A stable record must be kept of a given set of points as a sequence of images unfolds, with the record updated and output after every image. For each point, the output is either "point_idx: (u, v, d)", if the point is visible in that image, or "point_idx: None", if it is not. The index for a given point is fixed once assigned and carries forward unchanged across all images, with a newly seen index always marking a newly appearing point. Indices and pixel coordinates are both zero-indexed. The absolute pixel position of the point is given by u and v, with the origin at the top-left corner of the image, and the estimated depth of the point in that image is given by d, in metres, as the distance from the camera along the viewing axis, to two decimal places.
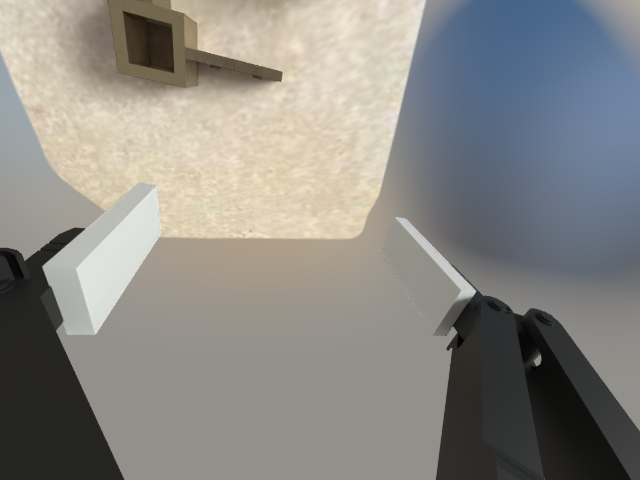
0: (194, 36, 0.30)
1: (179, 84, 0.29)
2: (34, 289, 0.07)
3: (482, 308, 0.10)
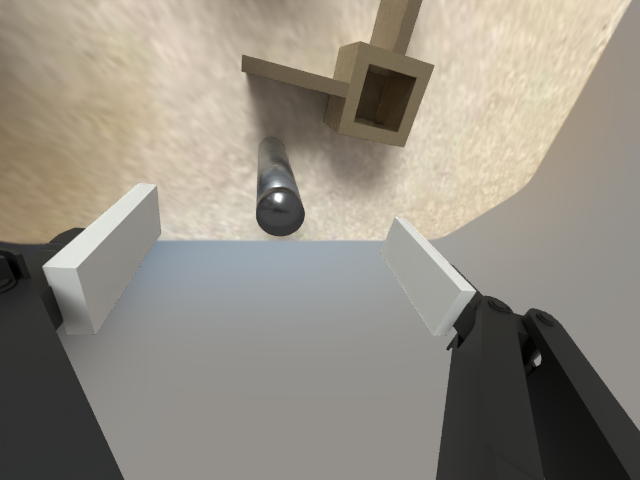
0: None
1: (428, 74, 0.21)
2: (34, 289, 0.07)
3: (482, 308, 0.10)
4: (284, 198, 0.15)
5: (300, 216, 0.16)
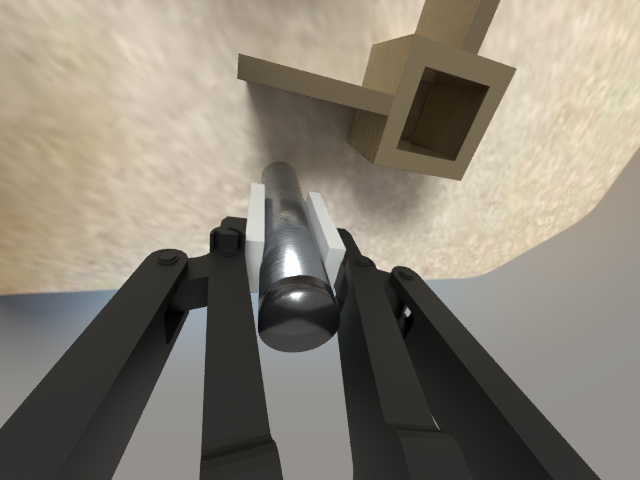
0: None
1: (507, 81, 0.15)
2: (244, 260, 0.09)
3: (351, 270, 0.10)
4: (307, 302, 0.08)
5: (332, 324, 0.09)
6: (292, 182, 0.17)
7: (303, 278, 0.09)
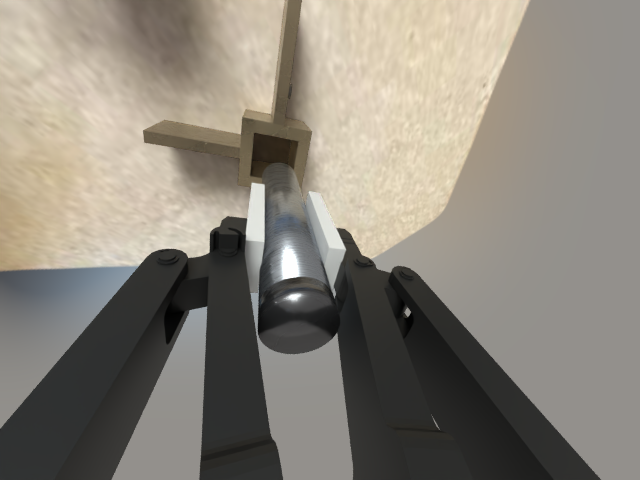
0: (258, 113, 0.28)
1: (308, 138, 0.25)
2: (244, 260, 0.09)
3: (351, 270, 0.10)
4: (307, 304, 0.08)
5: (332, 325, 0.09)
6: (292, 183, 0.17)
7: (303, 280, 0.09)
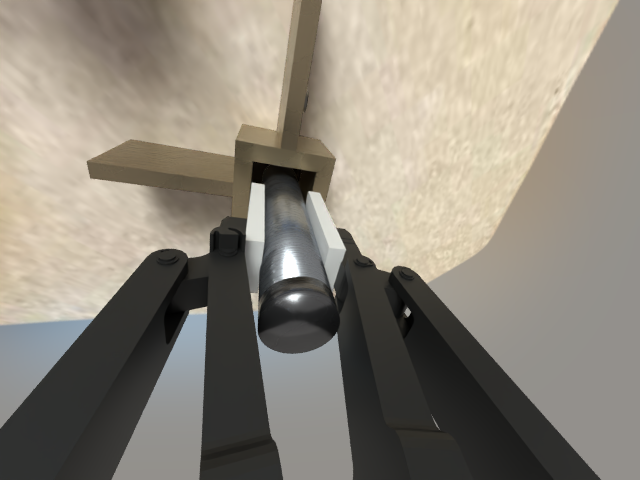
0: (260, 130, 0.20)
1: (330, 167, 0.18)
2: (244, 260, 0.09)
3: (351, 270, 0.10)
4: (307, 303, 0.08)
5: (332, 325, 0.09)
6: (292, 183, 0.17)
7: (303, 279, 0.09)
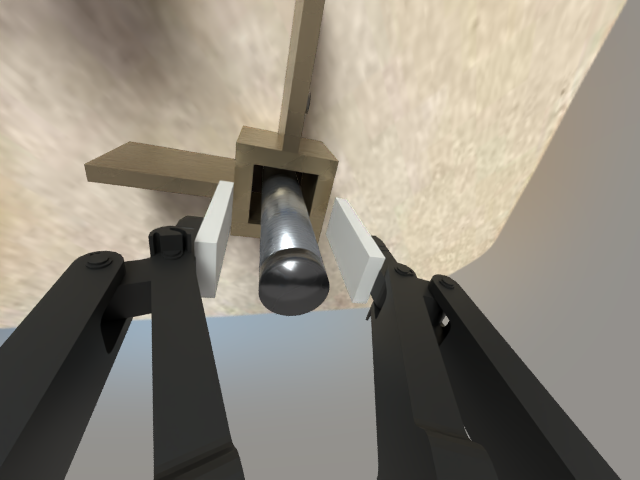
0: (261, 132, 0.20)
1: (333, 170, 0.17)
2: (192, 261, 0.09)
3: (390, 277, 0.11)
4: (300, 268, 0.10)
5: (323, 290, 0.11)
6: (290, 174, 0.19)
7: (297, 250, 0.10)
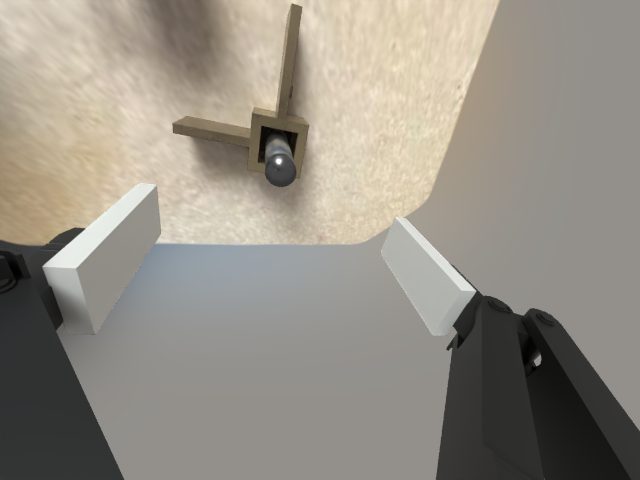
0: (265, 110, 0.33)
1: (306, 130, 0.31)
2: (34, 289, 0.07)
3: (482, 308, 0.10)
4: (283, 159, 0.23)
5: (293, 172, 0.24)
6: (282, 134, 0.32)
7: (282, 153, 0.24)
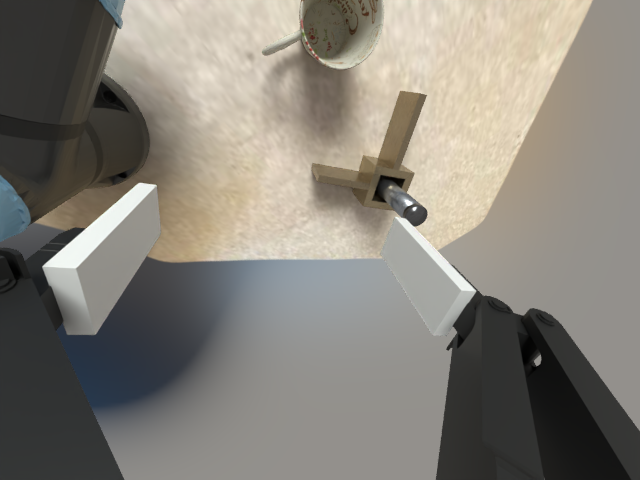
0: (373, 159, 0.42)
1: (411, 177, 0.40)
2: (34, 289, 0.07)
3: (482, 308, 0.10)
4: (420, 208, 0.33)
5: (424, 216, 0.33)
6: None
7: (417, 203, 0.33)
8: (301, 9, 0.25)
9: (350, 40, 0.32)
